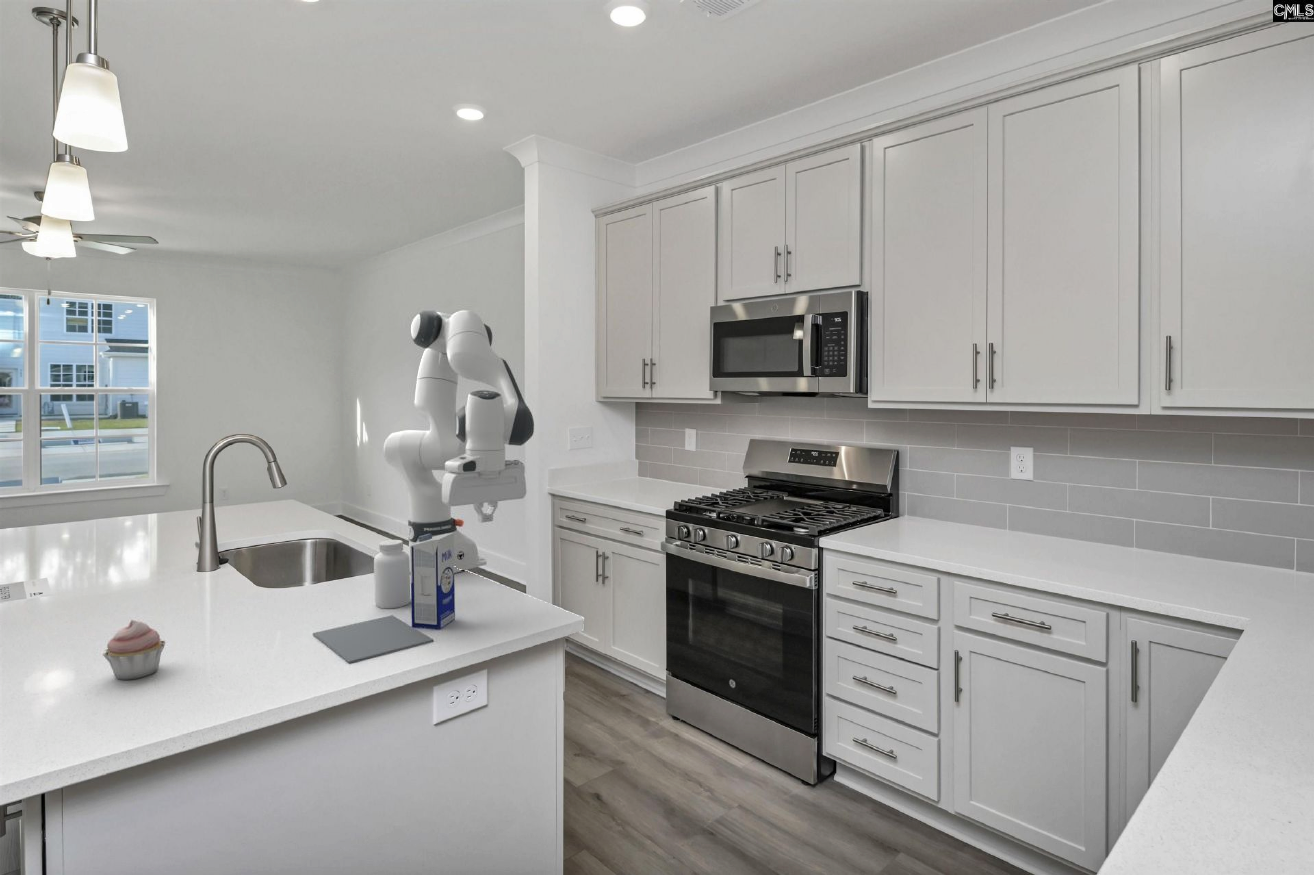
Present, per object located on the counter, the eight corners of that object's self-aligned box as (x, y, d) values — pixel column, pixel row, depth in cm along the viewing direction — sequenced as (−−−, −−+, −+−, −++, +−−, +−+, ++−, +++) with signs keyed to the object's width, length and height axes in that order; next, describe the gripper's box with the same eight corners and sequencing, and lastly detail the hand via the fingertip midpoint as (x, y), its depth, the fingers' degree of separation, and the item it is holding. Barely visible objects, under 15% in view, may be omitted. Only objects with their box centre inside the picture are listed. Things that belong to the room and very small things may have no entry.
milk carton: (439, 630, 153) (438, 538, 152) (411, 627, 155) (409, 536, 153) (455, 619, 160) (454, 531, 158) (427, 616, 161) (426, 529, 160)
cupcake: (100, 672, 130) (97, 619, 129) (161, 659, 136) (159, 607, 135) (107, 689, 123) (104, 632, 122) (172, 674, 129) (169, 620, 129)
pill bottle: (367, 607, 167) (366, 544, 166) (388, 597, 175) (387, 537, 174) (397, 610, 166) (396, 547, 164) (417, 600, 173) (416, 539, 172)
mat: (392, 616, 161) (392, 615, 161) (433, 641, 147) (433, 639, 147) (312, 635, 149) (312, 633, 149) (348, 663, 135) (348, 661, 135)
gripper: (516, 458, 173) (516, 514, 174) (438, 463, 159) (438, 524, 160) (531, 460, 168) (531, 518, 169) (451, 465, 154) (452, 529, 155)
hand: (485, 521), depth 164 cm, fingers closed
